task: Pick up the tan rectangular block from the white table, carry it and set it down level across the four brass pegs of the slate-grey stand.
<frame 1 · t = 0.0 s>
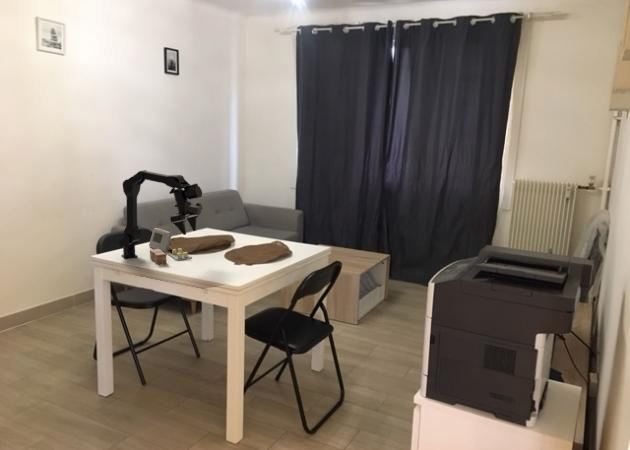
hand: (189, 232, 244), 15 cm above the table, tool pointing down, fingers open, 9 cm apart
peg stand: (179, 256, 259), on the table
tan rectangular block: (158, 261, 250), on the table
digital clock: (160, 249, 272), on the table
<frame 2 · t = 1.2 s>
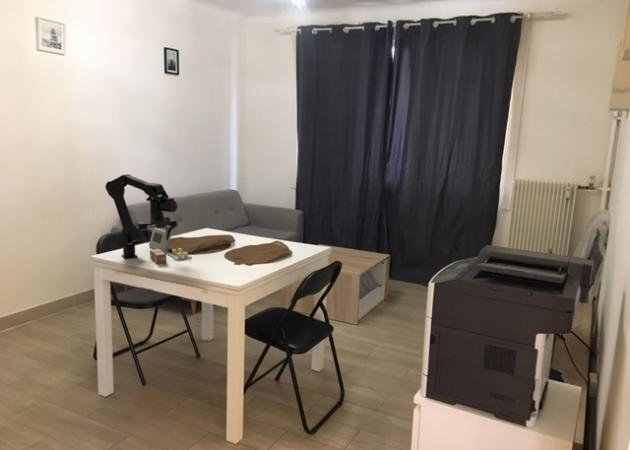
hand: (157, 241, 248), 10 cm above the table, tool pointing down, fingers open, 9 cm apart
nothing on the table moved.
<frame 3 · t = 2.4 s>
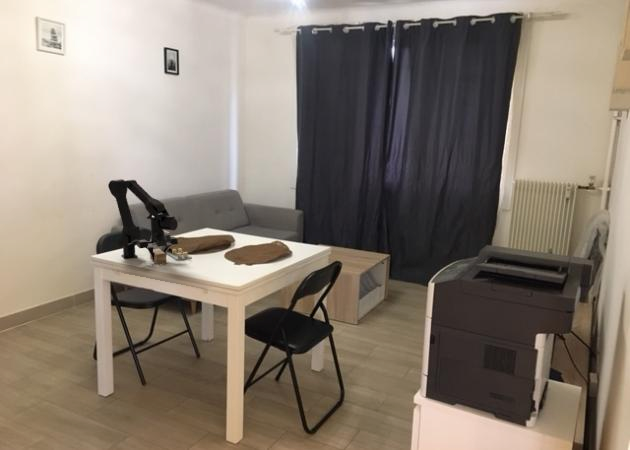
hand: (158, 259, 249), 1 cm above the table, tool pointing down, fingers closed on tan rectangular block, 4 cm apart
tan rectangular block: (158, 261, 249), on the table, touching gripper
everything else where it was.
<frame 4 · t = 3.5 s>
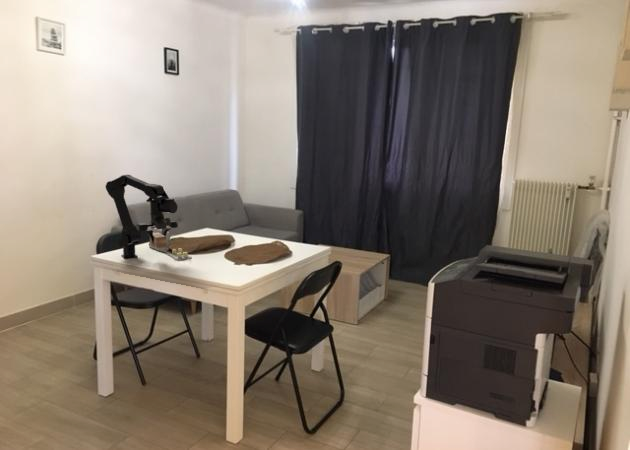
hand: (157, 242, 248), 9 cm above the table, tool pointing down, fingers closed on tan rectangular block, 4 cm apart
tan rectangular block: (158, 244, 248), point 8 cm above the table, touching gripper
everything else where it was.
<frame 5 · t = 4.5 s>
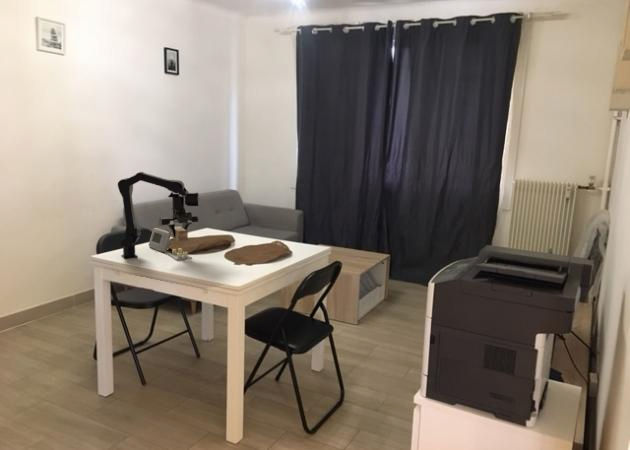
hand: (179, 236, 256), 11 cm above the table, tool pointing down, fingers closed on tan rectangular block, 4 cm apart
tan rectangular block: (179, 238, 256), point 10 cm above the table, touching gripper
everything else where it was.
when the fingers open (5 cm above the table, at t = 5.8 s): tan rectangular block stays where it is, resting on peg stand.
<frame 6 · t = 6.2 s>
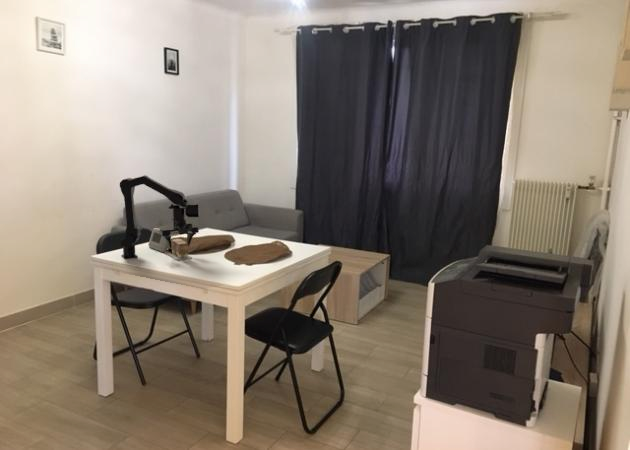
hand: (179, 247, 258), 5 cm above the table, tool pointing down, fingers open, 9 cm apart
tan rectangular block: (179, 251, 258), point 3 cm above the table, touching peg stand
everything else where it was.
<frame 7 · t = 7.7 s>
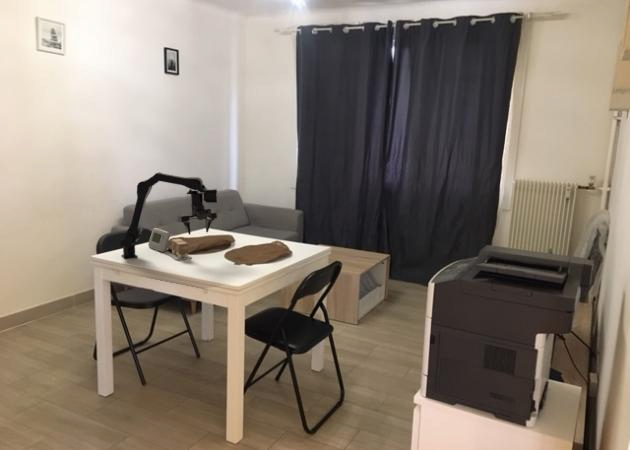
hand: (198, 233, 256), 13 cm above the table, tool pointing down, fingers open, 9 cm apart
nothing on the table moved.
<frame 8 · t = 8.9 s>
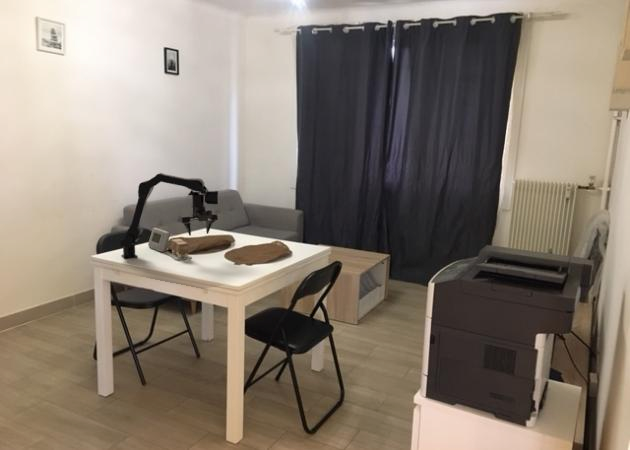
hand: (198, 234, 256), 12 cm above the table, tool pointing down, fingers open, 9 cm apart
nothing on the table moved.
at the end: tan rectangular block 0.1 cm off-centre on the peg stand, point 3.0 cm above the peg stand's base; tan rectangular block tilted 0° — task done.
